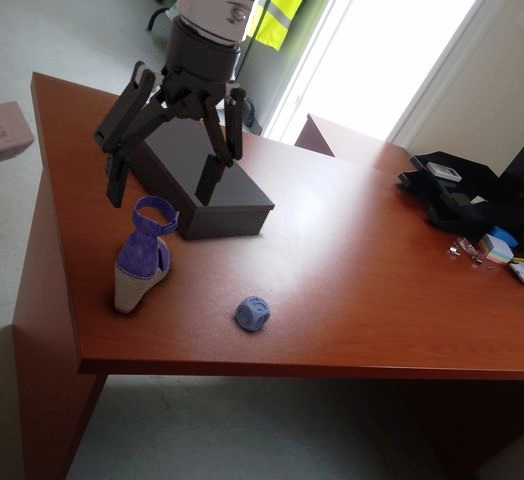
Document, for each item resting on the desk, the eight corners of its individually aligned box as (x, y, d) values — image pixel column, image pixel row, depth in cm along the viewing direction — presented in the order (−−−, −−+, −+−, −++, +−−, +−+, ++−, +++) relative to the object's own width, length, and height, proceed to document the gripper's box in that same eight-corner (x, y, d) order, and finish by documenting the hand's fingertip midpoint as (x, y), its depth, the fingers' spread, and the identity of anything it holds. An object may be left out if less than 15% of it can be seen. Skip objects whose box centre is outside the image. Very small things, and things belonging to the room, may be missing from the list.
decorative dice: (248, 310, 77) (258, 293, 74) (264, 327, 75) (274, 310, 73) (232, 316, 74) (241, 298, 71) (247, 333, 73) (257, 316, 70)
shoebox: (111, 143, 93) (117, 107, 88) (187, 149, 105) (196, 118, 100) (184, 241, 82) (197, 206, 77) (260, 235, 94) (275, 205, 89)
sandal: (181, 254, 79) (209, 178, 69) (136, 324, 64) (164, 240, 54) (137, 232, 78) (159, 152, 68) (81, 299, 63) (99, 208, 53)
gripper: (113, 16, 38) (80, 222, 53) (309, 68, 55) (244, 215, 69) (77, -23, 41) (55, 182, 55) (274, 37, 57) (218, 185, 71)
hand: (160, 201), depth 62 cm, fingers open, 13 cm apart
